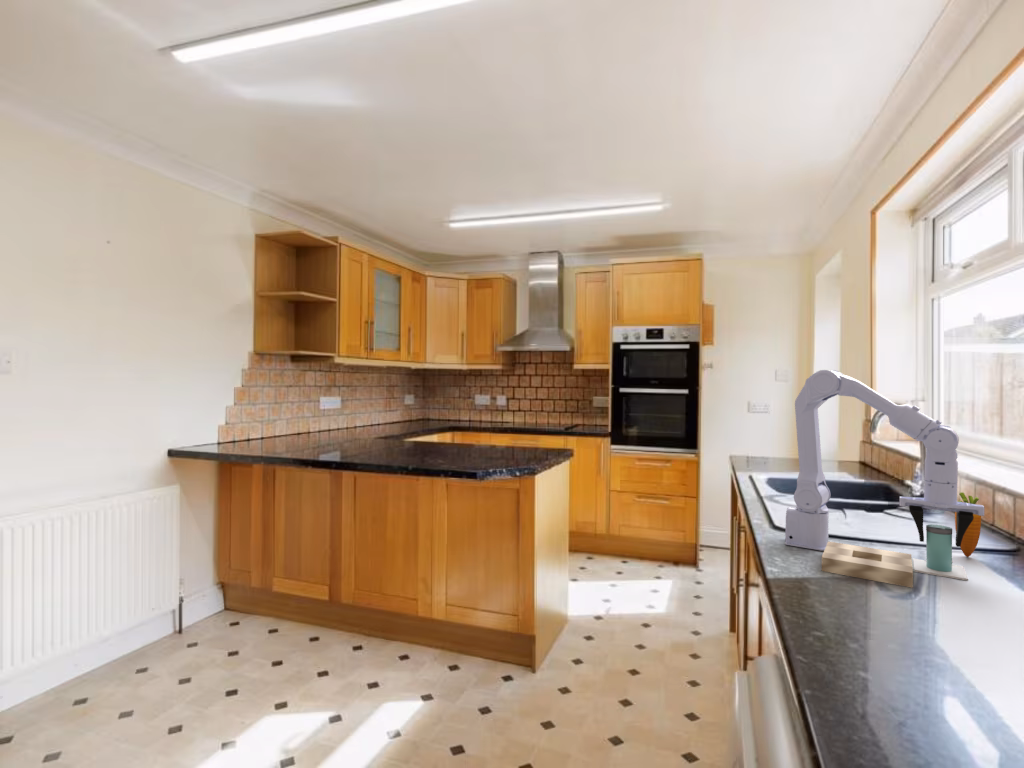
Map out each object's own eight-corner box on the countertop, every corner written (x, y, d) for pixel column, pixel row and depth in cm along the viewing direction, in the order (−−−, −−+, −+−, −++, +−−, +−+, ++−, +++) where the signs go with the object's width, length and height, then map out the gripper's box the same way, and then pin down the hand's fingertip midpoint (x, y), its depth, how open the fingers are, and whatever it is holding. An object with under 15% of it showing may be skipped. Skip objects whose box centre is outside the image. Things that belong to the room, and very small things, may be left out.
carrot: (986, 561, 125) (987, 496, 125) (961, 559, 126) (962, 495, 126) (972, 554, 130) (973, 491, 129) (948, 552, 131) (949, 490, 130)
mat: (914, 571, 118) (914, 569, 118) (913, 560, 125) (913, 558, 125) (968, 580, 113) (968, 578, 113) (963, 568, 120) (963, 566, 120)
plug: (926, 568, 118) (926, 527, 118) (926, 563, 122) (926, 523, 122) (952, 573, 116) (952, 531, 116) (951, 567, 119) (951, 526, 119)
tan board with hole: (821, 570, 118) (821, 557, 118) (827, 553, 129) (828, 541, 129) (912, 587, 109) (912, 572, 109) (911, 567, 120) (911, 554, 120)
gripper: (900, 480, 120) (899, 541, 120) (986, 488, 111) (985, 554, 111) (899, 475, 125) (898, 534, 126) (982, 483, 117) (981, 545, 117)
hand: (939, 543), depth 119 cm, fingers open, 6 cm apart
